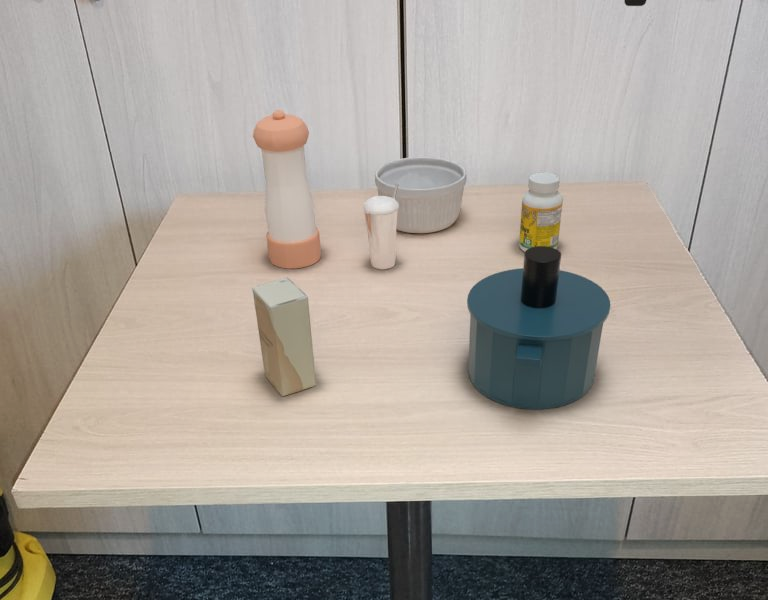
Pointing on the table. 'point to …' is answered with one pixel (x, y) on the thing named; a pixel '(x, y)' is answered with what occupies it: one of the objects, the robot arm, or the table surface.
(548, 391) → the pot
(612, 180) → the table surface
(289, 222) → the pepper shaker
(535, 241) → the supplement bottle
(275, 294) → the box
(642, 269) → the table surface
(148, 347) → the table surface
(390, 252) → the milkshake
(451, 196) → the ramekin
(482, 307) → the lid
